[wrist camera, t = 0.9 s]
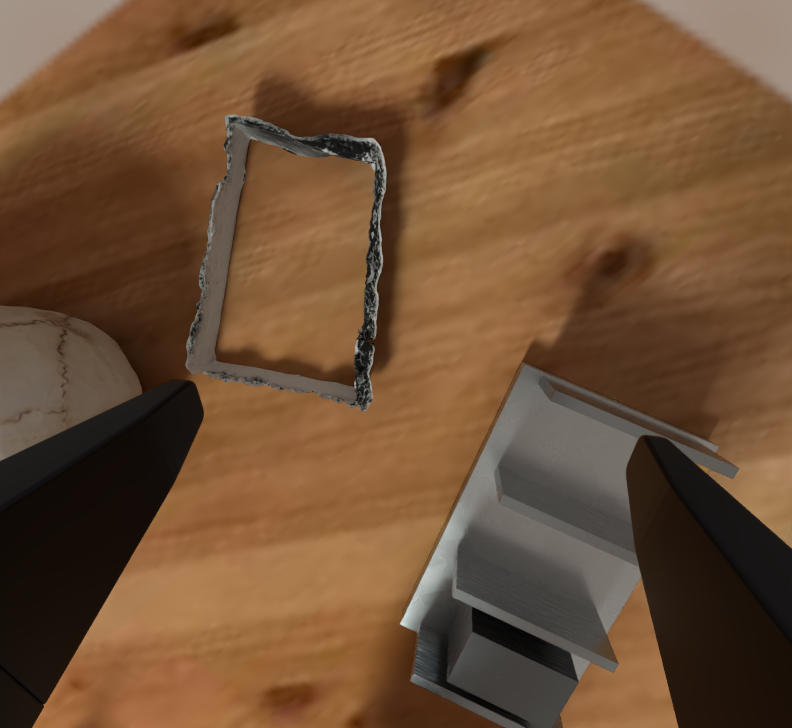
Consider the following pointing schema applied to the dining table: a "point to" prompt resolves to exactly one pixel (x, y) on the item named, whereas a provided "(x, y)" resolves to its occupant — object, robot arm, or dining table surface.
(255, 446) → the dining table surface
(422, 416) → the dining table surface
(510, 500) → the rack
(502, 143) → the dining table surface
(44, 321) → the coin bank
